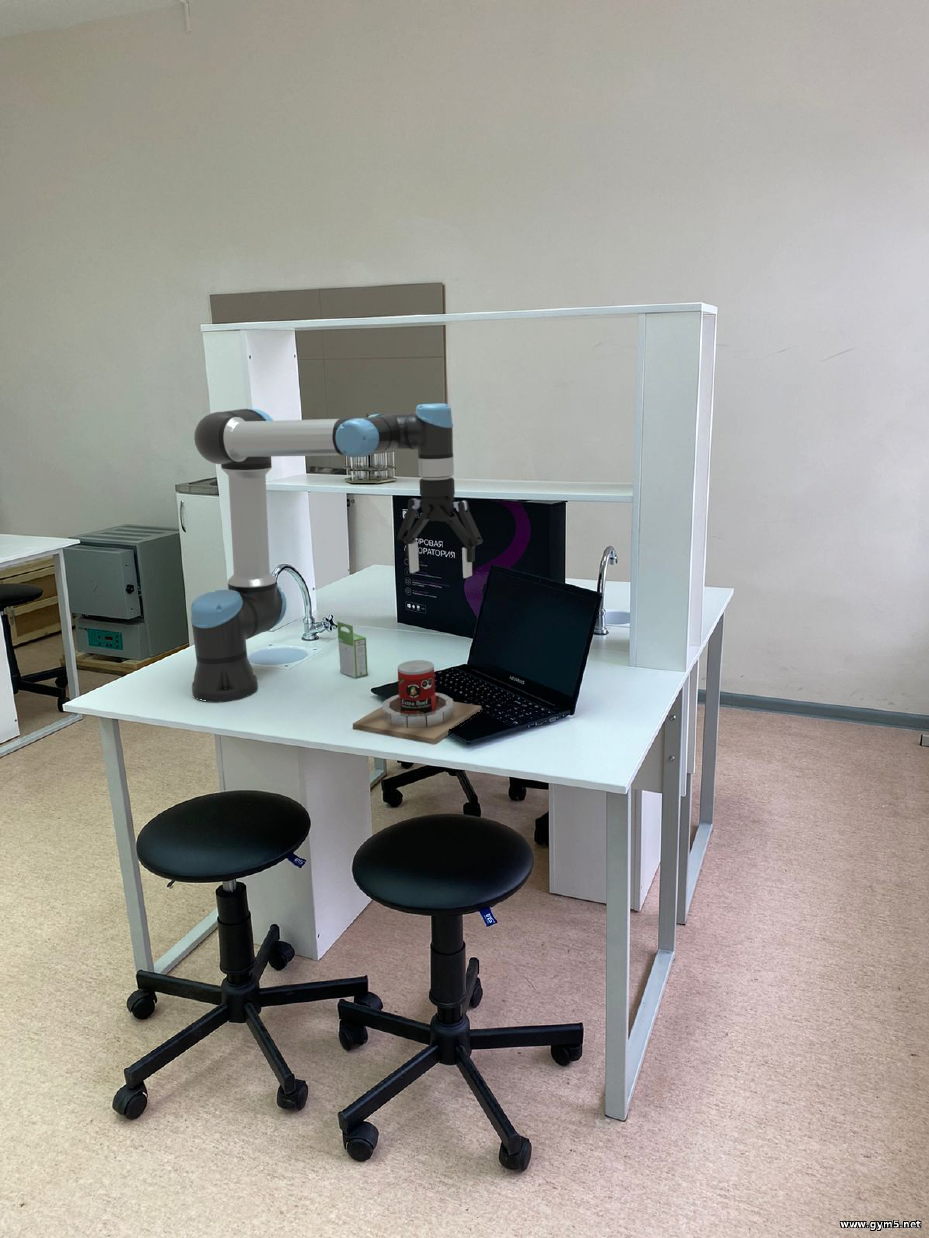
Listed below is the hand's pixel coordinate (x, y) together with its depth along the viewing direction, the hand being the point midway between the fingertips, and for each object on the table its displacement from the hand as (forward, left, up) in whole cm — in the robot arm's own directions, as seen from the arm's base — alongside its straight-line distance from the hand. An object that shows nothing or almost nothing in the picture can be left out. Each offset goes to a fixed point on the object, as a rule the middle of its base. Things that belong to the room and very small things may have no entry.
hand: (440, 574), depth 209 cm
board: (+2, -15, -28) cm, 32 cm away
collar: (+2, -15, -27) cm, 31 cm away
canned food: (+2, -15, -28) cm, 31 cm away
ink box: (-29, +5, -29) cm, 41 cm away
